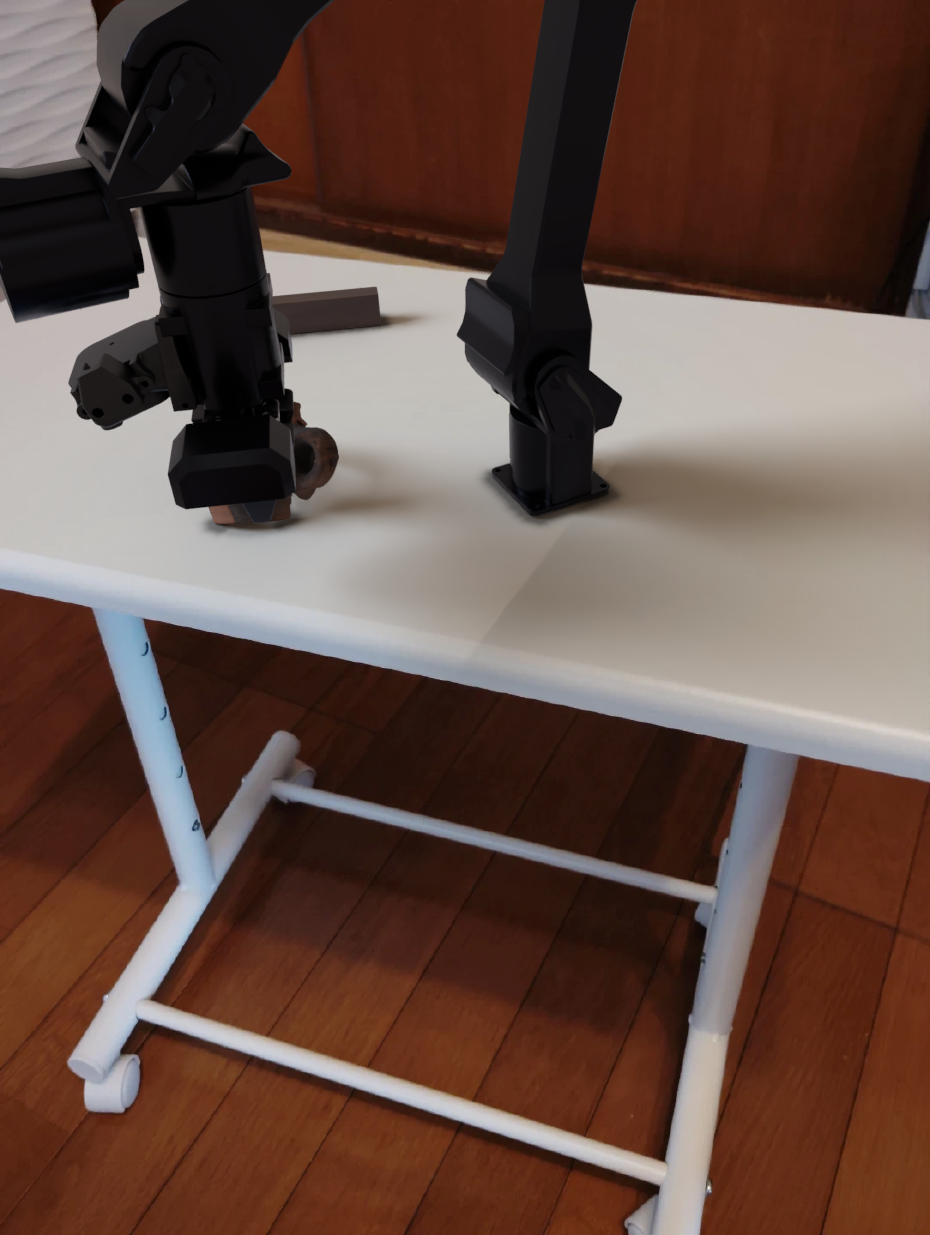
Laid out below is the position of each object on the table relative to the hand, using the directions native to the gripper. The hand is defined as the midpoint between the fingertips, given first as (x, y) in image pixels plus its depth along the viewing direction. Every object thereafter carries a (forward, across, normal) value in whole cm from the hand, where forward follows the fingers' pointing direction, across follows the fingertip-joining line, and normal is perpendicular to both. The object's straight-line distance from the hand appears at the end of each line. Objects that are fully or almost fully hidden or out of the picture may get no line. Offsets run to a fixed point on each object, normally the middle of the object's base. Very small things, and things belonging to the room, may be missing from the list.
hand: (262, 519), depth 64 cm
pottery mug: (+5, -10, 0) cm, 11 cm away
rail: (+4, -38, 0) cm, 38 cm away
